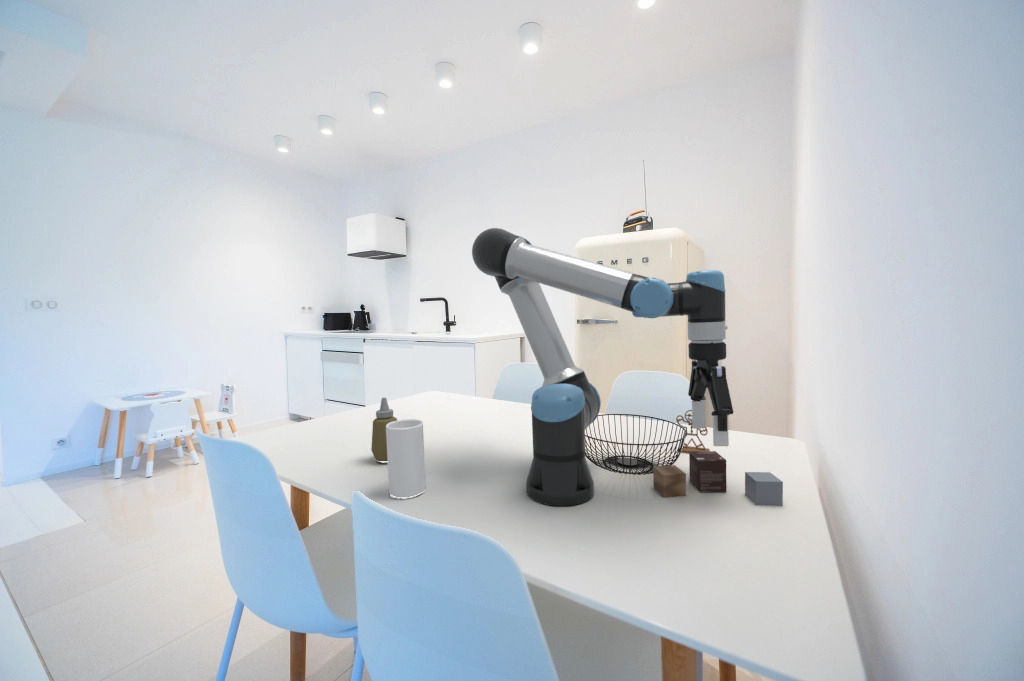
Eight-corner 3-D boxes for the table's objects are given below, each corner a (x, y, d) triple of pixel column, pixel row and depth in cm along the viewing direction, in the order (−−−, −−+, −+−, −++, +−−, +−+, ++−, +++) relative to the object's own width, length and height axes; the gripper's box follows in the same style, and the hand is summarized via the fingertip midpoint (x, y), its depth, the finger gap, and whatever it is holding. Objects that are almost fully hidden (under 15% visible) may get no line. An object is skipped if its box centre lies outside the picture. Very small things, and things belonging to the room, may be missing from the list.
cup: (432, 487, 96) (430, 420, 95) (410, 502, 88) (407, 429, 87) (405, 482, 99) (402, 418, 98) (381, 496, 92) (377, 426, 91)
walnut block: (663, 497, 87) (663, 475, 86) (653, 488, 92) (653, 466, 91) (686, 496, 87) (685, 473, 87) (674, 486, 92) (674, 465, 92)
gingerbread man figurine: (709, 451, 114) (709, 409, 113) (708, 456, 110) (708, 412, 110) (676, 447, 118) (675, 407, 118) (674, 451, 115) (673, 410, 114)
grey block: (756, 505, 82) (756, 481, 82) (745, 494, 87) (745, 471, 87) (782, 506, 81) (782, 481, 81) (769, 495, 86) (770, 472, 86)
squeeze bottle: (396, 465, 111) (393, 400, 110) (367, 466, 111) (364, 401, 110) (405, 455, 119) (402, 394, 118) (377, 456, 119) (374, 395, 118)
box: (716, 481, 94) (716, 450, 93) (727, 493, 88) (727, 459, 87) (688, 481, 94) (688, 450, 94) (698, 492, 88) (697, 459, 88)
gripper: (751, 344, 76) (753, 454, 77) (704, 338, 101) (706, 421, 102) (709, 345, 77) (712, 455, 78) (673, 339, 102) (675, 422, 103)
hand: (709, 436), depth 90 cm, fingers open, 13 cm apart
